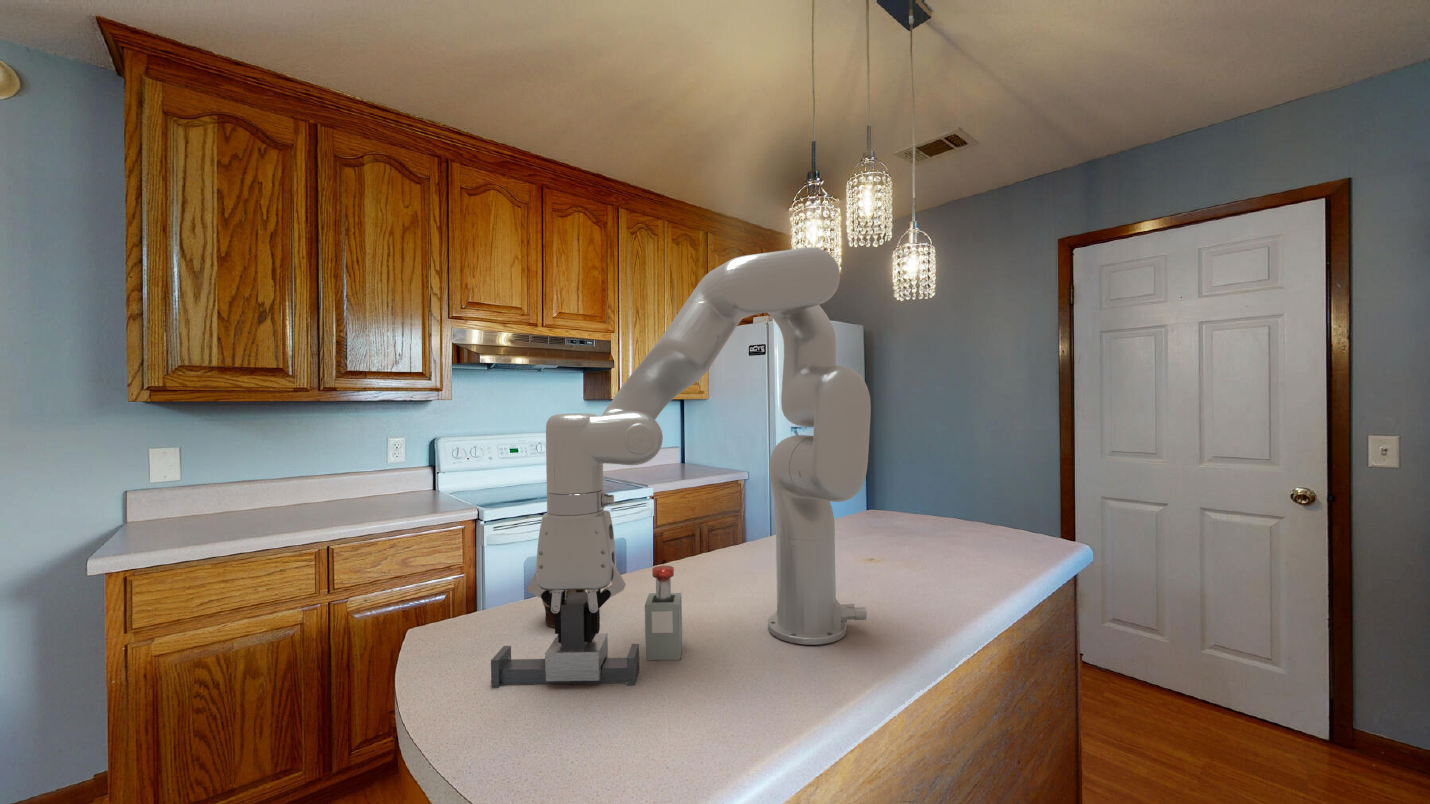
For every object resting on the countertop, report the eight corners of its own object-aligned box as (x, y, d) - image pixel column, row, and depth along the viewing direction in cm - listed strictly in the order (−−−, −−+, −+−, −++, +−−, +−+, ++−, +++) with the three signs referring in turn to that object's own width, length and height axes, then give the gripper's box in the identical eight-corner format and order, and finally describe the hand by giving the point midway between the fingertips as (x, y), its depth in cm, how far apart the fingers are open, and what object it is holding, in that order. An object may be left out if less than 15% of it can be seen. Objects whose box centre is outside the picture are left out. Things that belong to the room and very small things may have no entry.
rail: (639, 669, 77) (639, 643, 77) (634, 685, 73) (634, 658, 73) (504, 671, 77) (503, 645, 77) (491, 687, 73) (490, 660, 73)
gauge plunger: (675, 611, 84) (674, 565, 84) (673, 619, 81) (672, 571, 81) (654, 611, 84) (653, 565, 84) (651, 619, 81) (651, 571, 81)
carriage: (608, 660, 78) (606, 590, 78) (598, 681, 72) (597, 606, 72) (558, 660, 78) (557, 591, 78) (545, 682, 72) (544, 607, 72)
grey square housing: (682, 644, 85) (681, 592, 85) (679, 660, 80) (679, 604, 80) (649, 645, 85) (649, 593, 85) (645, 660, 80) (644, 605, 80)
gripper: (639, 498, 79) (641, 627, 79) (525, 500, 79) (527, 628, 79) (631, 507, 71) (633, 650, 71) (505, 509, 71) (507, 651, 71)
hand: (577, 637), depth 75 cm, fingers closed on carriage, 3 cm apart
